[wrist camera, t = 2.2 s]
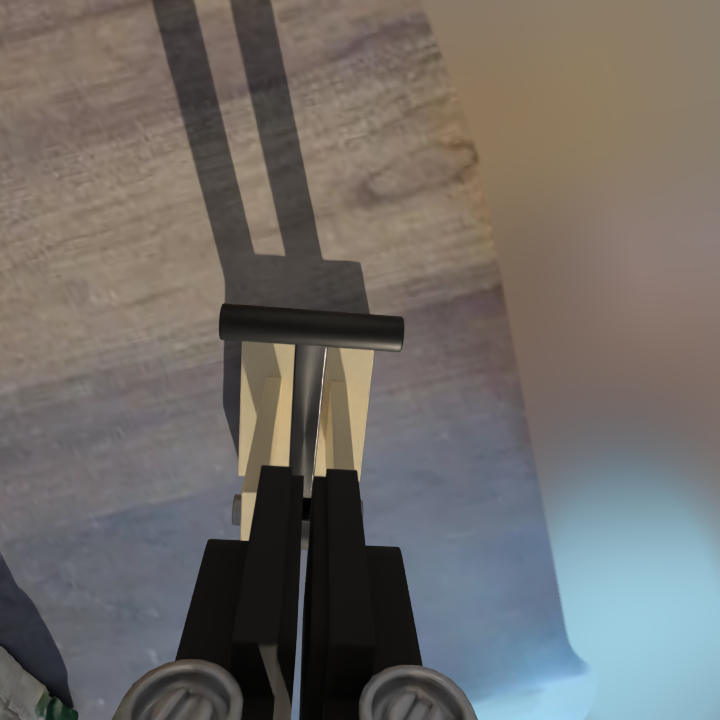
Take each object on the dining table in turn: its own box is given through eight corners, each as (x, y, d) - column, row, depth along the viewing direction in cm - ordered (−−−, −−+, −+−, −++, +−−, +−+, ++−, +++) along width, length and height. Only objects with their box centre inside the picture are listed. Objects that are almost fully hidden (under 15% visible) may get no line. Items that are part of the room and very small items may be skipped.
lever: (225, 284, 21) (215, 333, 19) (402, 297, 22) (406, 347, 20) (237, 502, 31) (231, 547, 30) (358, 508, 32) (358, 552, 30)
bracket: (244, 325, 39) (206, 431, 26) (373, 334, 39) (399, 442, 26) (239, 466, 42) (204, 621, 29) (358, 472, 43) (374, 626, 30)
